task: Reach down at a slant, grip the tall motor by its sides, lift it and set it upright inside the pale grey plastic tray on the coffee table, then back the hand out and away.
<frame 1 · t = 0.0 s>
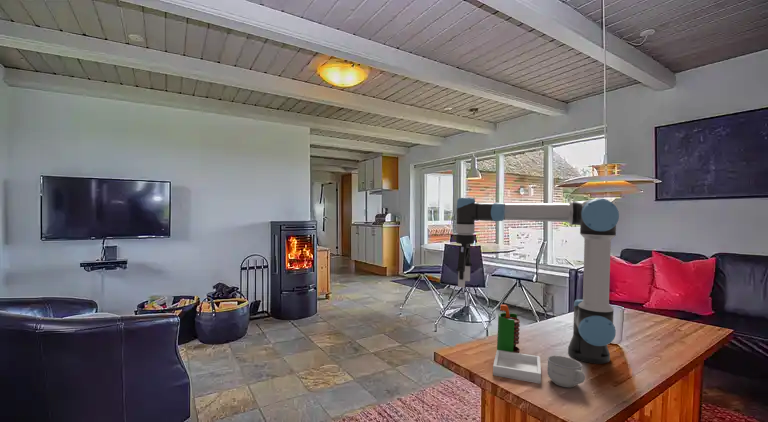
hand: (464, 284, 159), 28 cm above the table, tool pointing down, fingers open, 13 cm apart
teacup: (566, 386, 129), on the table
tray: (517, 370, 140), on the table
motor: (508, 353, 156), on the table
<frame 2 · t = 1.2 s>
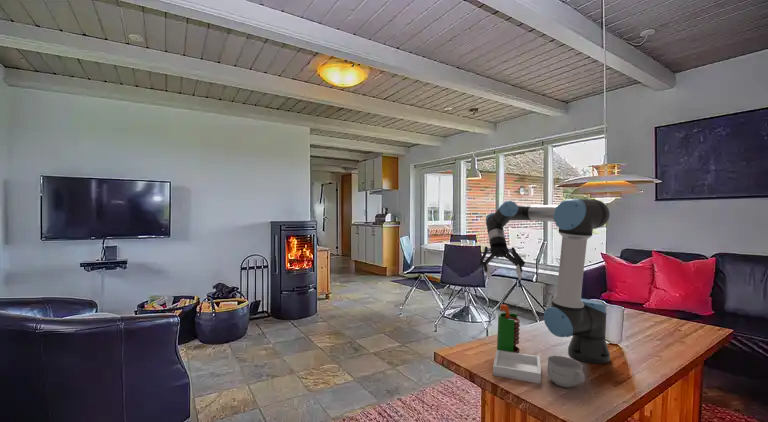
hand: (504, 278, 165), 29 cm above the table, tool tilted 45°, fingers open, 13 cm apart
nothing on the table moved.
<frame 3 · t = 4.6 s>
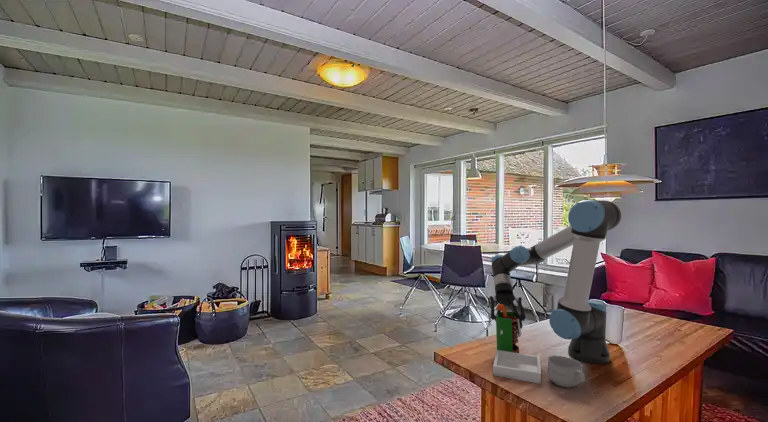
hand: (510, 334, 152), 9 cm above the table, tool tilted 45°, fingers closed on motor, 6 cm apart
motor: (508, 352, 156), on the table, touching gripper
everything else where it was.
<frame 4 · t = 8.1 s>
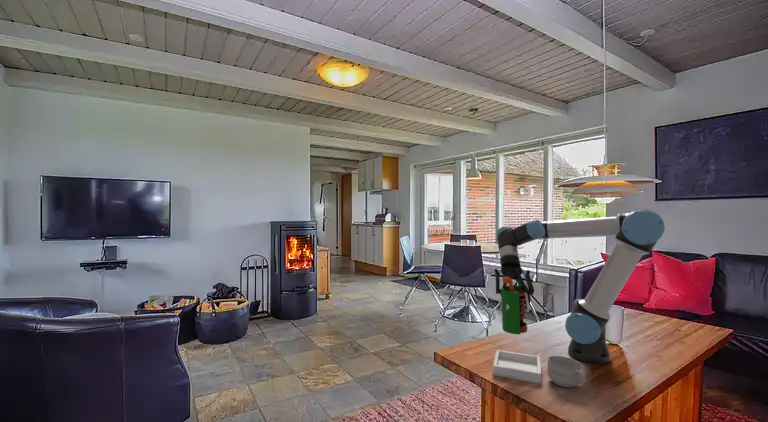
hand: (517, 309, 138), 23 cm above the table, tool tilted 45°, fingers closed on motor, 6 cm apart
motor: (514, 330, 141), point 14 cm above the table, touching gripper
everything else where it was.
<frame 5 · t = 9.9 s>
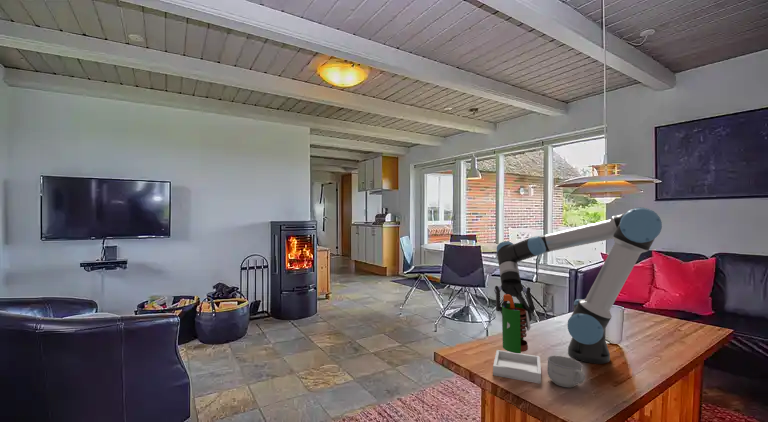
hand: (518, 328, 136), 17 cm above the table, tool tilted 45°, fingers closed on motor, 6 cm apart
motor: (515, 348, 140), point 8 cm above the table, touching gripper
everything else where it was.
when the fingers open (11 cm above the table, at t = 11.5 s): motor drops 2 cm, resting on tray.
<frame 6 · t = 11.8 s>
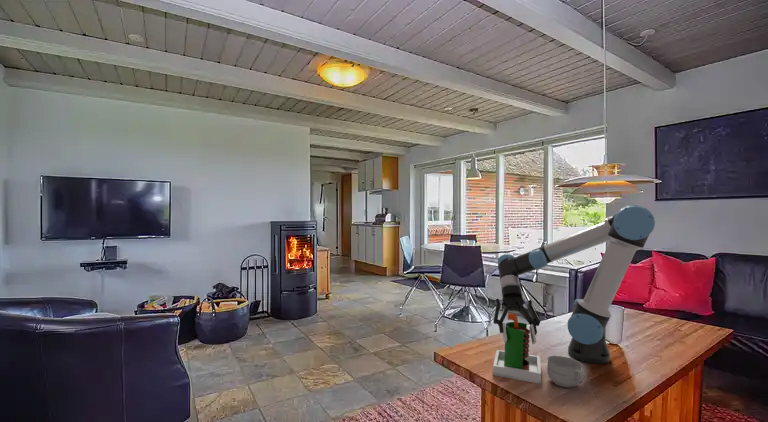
hand: (519, 341, 137), 12 cm above the table, tool tilted 45°, fingers open, 9 cm apart
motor: (516, 367, 140), point 1 cm above the table, touching tray
everything else where it was.
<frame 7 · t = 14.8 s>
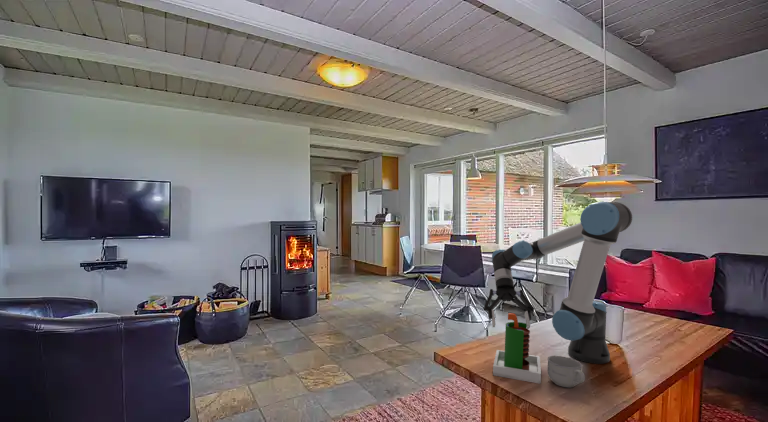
hand: (511, 326, 150), 13 cm above the table, tool tilted 45°, fingers open, 13 cm apart
nothing on the table moved.
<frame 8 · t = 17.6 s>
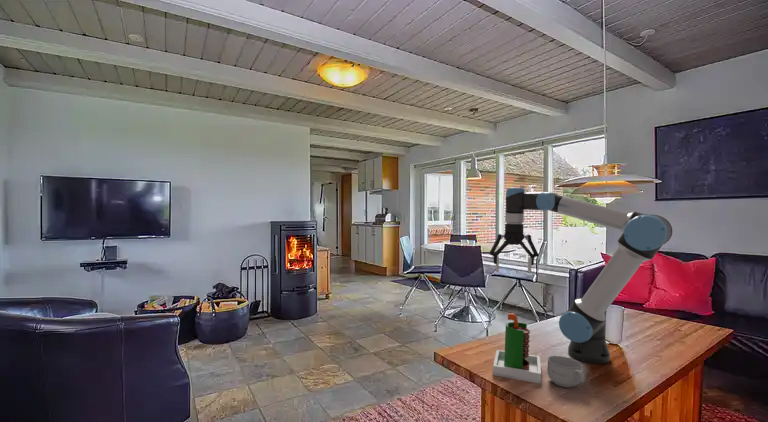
hand: (513, 272, 162), 33 cm above the table, tool pointing down, fingers open, 13 cm apart
nothing on the table moved.
at the end: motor inside the target area on the tray (0.2 cm from its centre), point 0.8 cm above the tray's base; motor tilted 0°; the gripper is holding nothing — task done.
